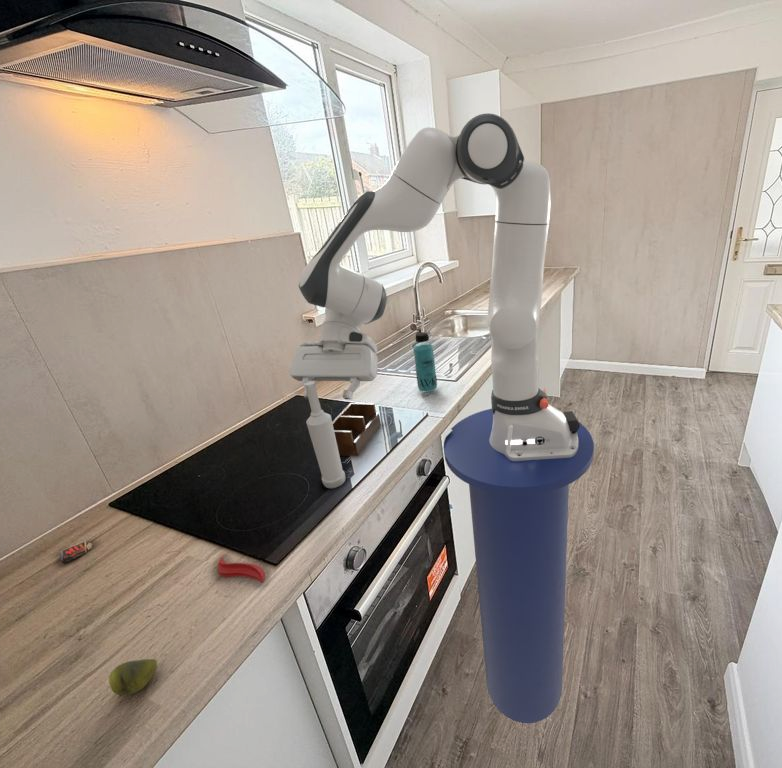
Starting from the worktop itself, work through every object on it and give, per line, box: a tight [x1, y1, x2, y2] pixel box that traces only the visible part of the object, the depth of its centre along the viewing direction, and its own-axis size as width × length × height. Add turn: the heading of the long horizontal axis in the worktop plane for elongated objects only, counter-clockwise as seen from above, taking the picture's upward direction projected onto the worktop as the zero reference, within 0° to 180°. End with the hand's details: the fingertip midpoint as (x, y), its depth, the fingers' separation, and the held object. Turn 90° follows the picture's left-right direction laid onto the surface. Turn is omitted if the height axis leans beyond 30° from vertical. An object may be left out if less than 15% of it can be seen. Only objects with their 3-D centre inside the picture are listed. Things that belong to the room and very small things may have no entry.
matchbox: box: [60, 540, 93, 563], centre depth 80 cm, size 5×5×1 cm
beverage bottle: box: [413, 332, 438, 393], centre depth 132 cm, size 6×7×20 cm
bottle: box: [304, 381, 346, 489], centre depth 90 cm, size 5×5×25 cm
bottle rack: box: [332, 402, 382, 457], centre depth 110 cm, size 8×16×7 cm, turn 169°
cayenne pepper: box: [216, 557, 266, 583], centre depth 73 cm, size 12×5×2 cm, turn 55°
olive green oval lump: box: [108, 658, 158, 697], centre depth 55 cm, size 4×5×5 cm
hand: (327, 398), depth 91 cm, fingers open, 8 cm apart
